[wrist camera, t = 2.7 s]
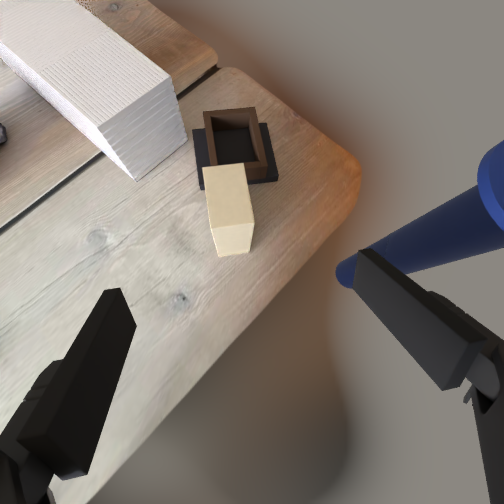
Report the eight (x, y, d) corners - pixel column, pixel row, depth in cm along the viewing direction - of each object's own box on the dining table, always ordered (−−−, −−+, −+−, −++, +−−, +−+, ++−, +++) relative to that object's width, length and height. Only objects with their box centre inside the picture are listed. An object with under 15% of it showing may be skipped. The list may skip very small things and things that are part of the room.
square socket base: (265, 128, 40) (268, 105, 36) (277, 182, 38) (282, 164, 33) (193, 135, 39) (188, 112, 35) (200, 191, 37) (196, 174, 32)
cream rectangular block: (241, 208, 36) (243, 162, 26) (249, 252, 34) (255, 222, 24) (212, 212, 36) (202, 167, 25) (218, 257, 34) (210, 228, 23)
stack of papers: (188, 140, 39) (170, 75, 29) (136, 182, 36) (96, 127, 26) (62, 36, 43) (8, -53, 33) (9, 67, 41) (-69, -20, 30)
